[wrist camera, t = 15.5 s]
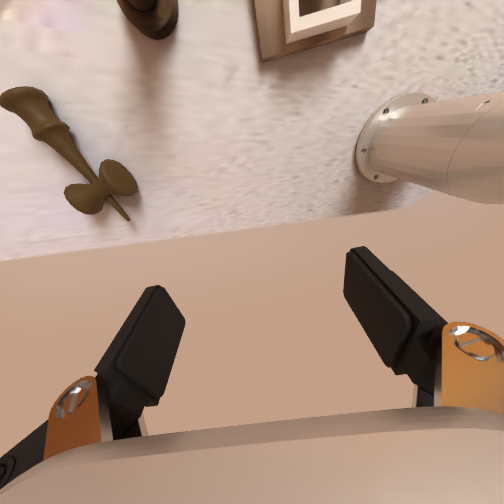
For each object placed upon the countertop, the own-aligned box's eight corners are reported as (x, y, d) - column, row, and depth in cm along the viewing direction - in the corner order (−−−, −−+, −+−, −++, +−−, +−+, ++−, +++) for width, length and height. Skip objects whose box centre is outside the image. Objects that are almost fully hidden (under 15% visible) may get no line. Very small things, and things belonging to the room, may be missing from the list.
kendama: (62, 79, 26) (157, 205, 36) (20, 114, 28) (120, 224, 38) (16, 65, 21) (141, 216, 31) (-31, 110, 23) (99, 238, 33)
